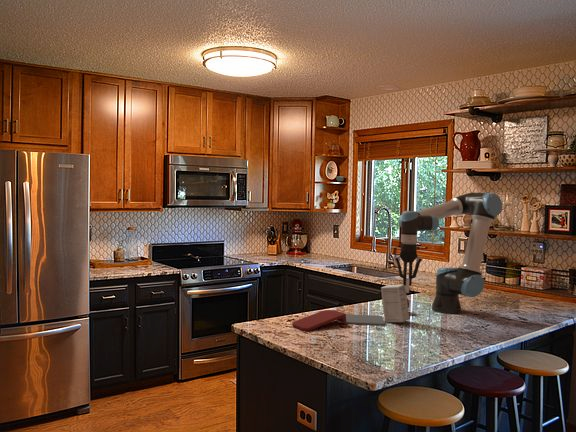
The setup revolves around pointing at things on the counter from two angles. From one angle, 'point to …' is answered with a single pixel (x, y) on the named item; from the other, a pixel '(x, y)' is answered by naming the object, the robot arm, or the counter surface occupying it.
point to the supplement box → (394, 303)
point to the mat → (364, 319)
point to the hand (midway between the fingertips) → (406, 292)
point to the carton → (319, 319)
